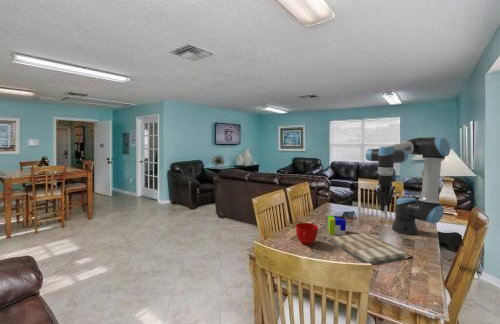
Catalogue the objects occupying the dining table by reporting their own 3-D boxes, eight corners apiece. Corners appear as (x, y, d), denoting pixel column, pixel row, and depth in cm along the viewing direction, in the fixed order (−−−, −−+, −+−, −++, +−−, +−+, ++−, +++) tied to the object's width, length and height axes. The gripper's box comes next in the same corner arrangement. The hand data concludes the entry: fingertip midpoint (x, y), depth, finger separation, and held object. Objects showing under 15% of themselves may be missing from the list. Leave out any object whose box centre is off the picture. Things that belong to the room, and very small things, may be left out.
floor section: (366, 235, 166) (366, 232, 166) (412, 257, 135) (413, 253, 135) (327, 240, 157) (327, 236, 157) (367, 265, 126) (367, 260, 125)
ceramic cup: (292, 247, 146) (292, 230, 146) (297, 237, 162) (298, 221, 161) (315, 250, 142) (315, 233, 141) (318, 240, 158) (319, 224, 157)
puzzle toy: (345, 235, 166) (345, 220, 165) (329, 234, 168) (329, 219, 167) (342, 230, 176) (343, 216, 175) (327, 229, 178) (328, 215, 177)
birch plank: (391, 248, 145) (392, 245, 145) (407, 256, 136) (407, 252, 136) (354, 254, 137) (354, 250, 137) (368, 262, 127) (368, 258, 127)
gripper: (382, 176, 134) (380, 220, 136) (400, 174, 138) (398, 217, 140) (370, 174, 141) (369, 216, 143) (388, 173, 145) (387, 213, 147)
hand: (383, 216), depth 142 cm, fingers closed
